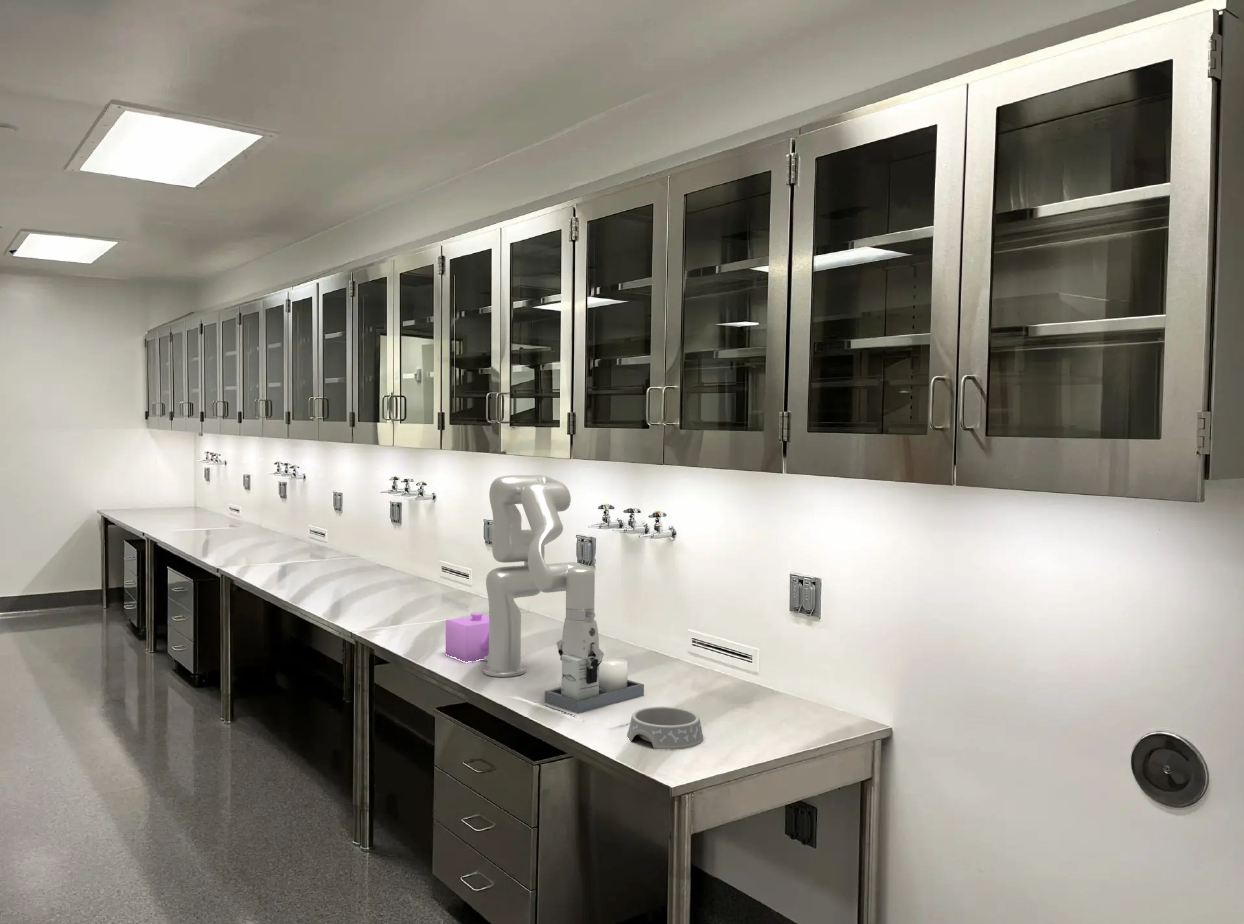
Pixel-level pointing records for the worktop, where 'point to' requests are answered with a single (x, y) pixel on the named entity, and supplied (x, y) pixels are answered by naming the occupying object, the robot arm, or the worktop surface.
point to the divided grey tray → (593, 698)
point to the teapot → (468, 637)
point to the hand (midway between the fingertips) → (579, 679)
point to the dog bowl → (666, 727)
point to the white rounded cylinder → (613, 674)
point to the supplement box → (577, 678)
